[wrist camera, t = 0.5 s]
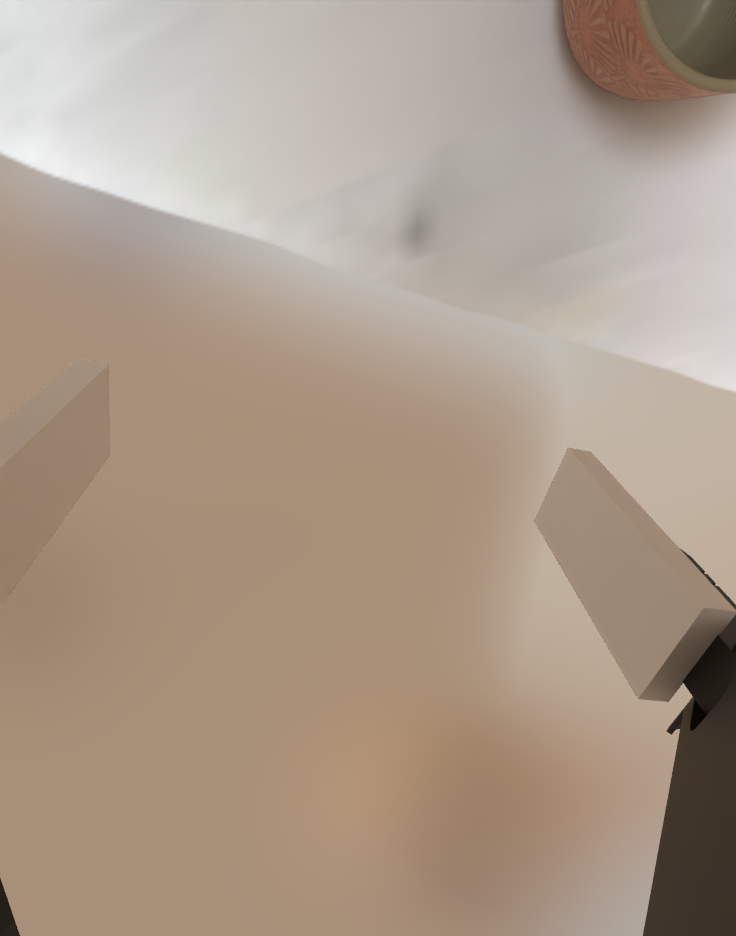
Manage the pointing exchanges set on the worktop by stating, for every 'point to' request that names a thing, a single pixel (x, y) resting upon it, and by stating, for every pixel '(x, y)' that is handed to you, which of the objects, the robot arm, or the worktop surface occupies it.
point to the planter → (655, 46)
